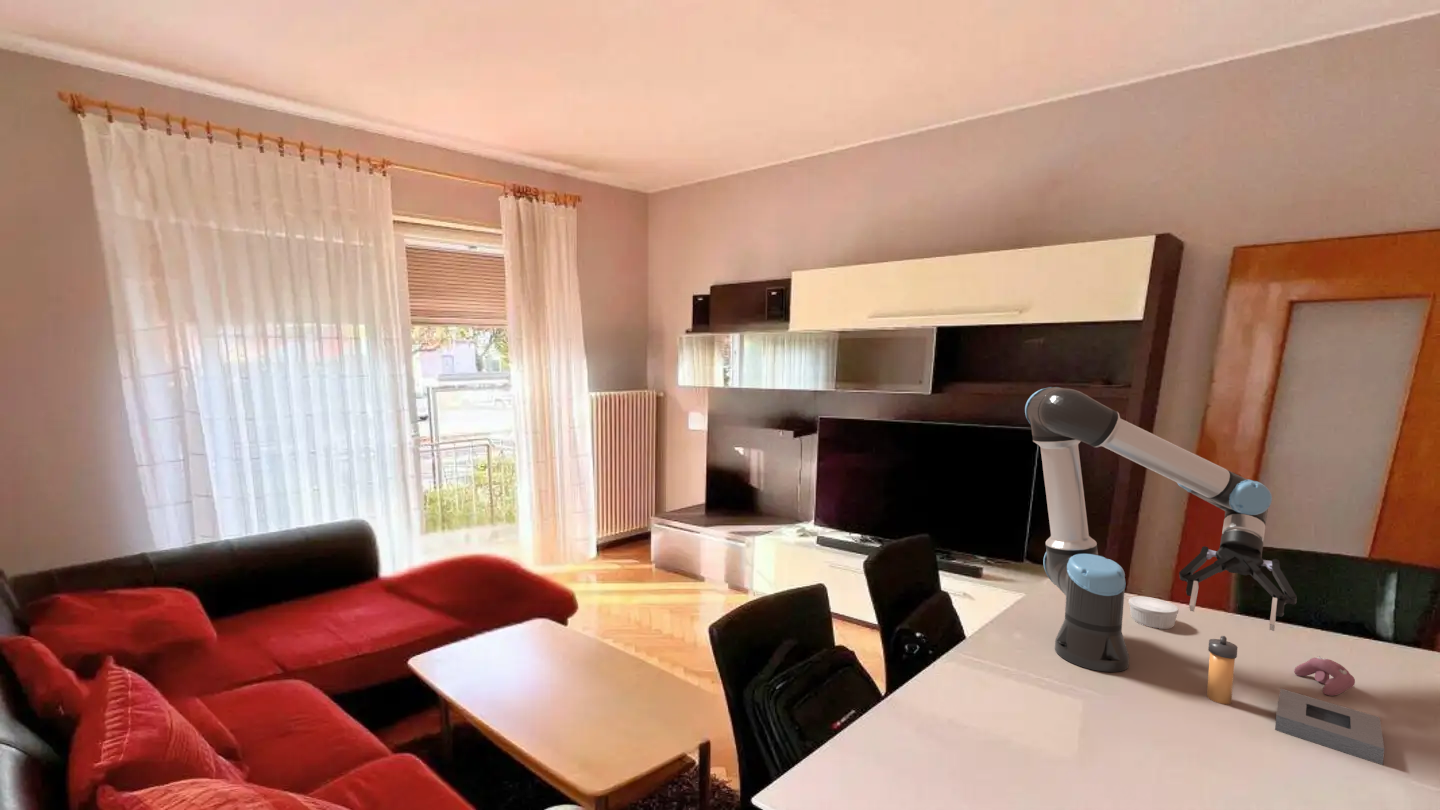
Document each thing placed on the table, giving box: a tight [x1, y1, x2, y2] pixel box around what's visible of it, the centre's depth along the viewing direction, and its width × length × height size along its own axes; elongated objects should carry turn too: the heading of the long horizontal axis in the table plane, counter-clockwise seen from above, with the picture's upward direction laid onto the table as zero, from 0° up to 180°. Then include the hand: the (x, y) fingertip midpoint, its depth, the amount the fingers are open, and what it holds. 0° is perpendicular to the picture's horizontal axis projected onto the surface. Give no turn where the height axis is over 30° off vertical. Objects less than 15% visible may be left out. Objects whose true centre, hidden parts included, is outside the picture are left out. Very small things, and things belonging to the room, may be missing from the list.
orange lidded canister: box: [1206, 635, 1238, 705], centre depth 126 cm, size 5×5×14 cm
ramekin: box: [1128, 595, 1179, 630], centre depth 165 cm, size 11×11×5 cm
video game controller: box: [1293, 656, 1356, 697], centre depth 133 cm, size 10×5×7 cm, turn 169°
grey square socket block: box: [1274, 688, 1385, 766], centre depth 116 cm, size 14×14×3 cm
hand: (1230, 617), depth 133 cm, fingers open, 13 cm apart
